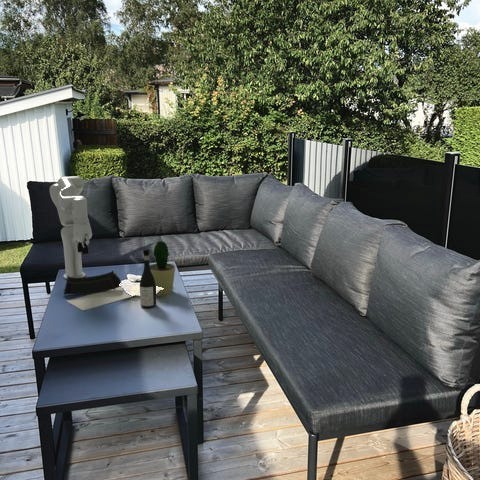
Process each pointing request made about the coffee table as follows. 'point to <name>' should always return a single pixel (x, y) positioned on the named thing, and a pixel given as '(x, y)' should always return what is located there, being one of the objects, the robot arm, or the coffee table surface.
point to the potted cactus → (162, 269)
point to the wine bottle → (147, 284)
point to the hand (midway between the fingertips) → (83, 252)
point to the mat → (99, 299)
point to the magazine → (92, 284)
